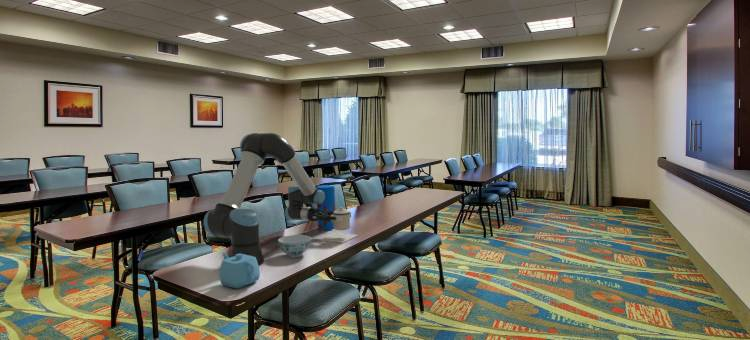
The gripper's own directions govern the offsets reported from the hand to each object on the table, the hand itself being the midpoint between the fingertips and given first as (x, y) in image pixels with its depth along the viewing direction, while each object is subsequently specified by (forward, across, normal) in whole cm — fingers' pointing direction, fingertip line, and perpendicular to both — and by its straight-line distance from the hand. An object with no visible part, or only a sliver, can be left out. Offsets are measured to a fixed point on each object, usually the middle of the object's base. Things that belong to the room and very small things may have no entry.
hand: (346, 216), depth 218 cm
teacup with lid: (-5, 0, -7) cm, 8 cm away
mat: (-5, 0, -12) cm, 13 cm away
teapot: (-8, +72, -12) cm, 74 cm away
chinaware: (-9, +34, -12) cm, 37 cm away
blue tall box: (-24, -18, -12) cm, 32 cm away
